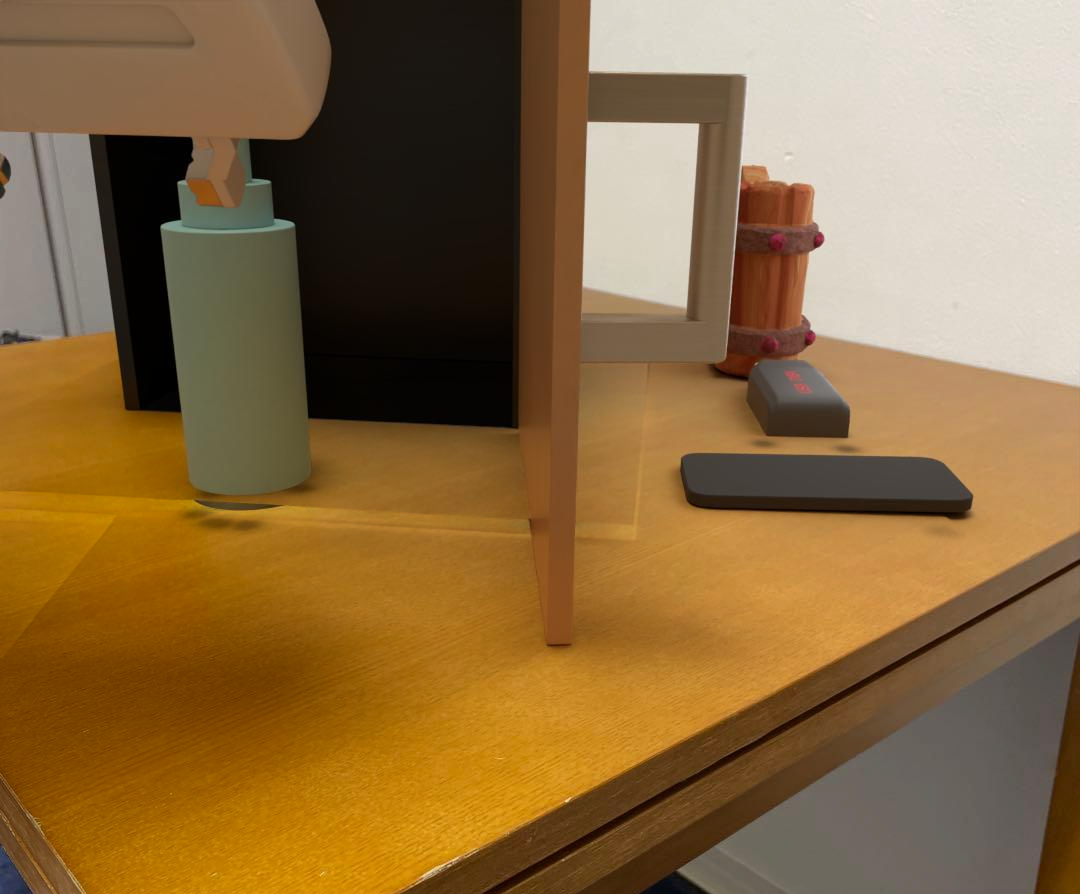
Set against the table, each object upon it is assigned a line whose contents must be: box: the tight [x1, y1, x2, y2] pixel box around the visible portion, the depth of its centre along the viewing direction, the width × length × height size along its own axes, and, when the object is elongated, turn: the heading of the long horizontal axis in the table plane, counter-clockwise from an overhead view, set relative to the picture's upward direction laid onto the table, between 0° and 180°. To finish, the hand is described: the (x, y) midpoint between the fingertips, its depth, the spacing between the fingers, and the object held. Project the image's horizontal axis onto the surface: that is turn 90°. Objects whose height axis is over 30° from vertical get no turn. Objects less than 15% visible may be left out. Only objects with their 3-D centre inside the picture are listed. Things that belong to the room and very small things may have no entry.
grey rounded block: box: [746, 359, 851, 439], centre depth 75 cm, size 5×12×3 cm, turn 179°
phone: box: [679, 452, 974, 513], centre depth 60 cm, size 7×1×15 cm
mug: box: [713, 164, 825, 379], centre depth 86 cm, size 15×8×15 cm, turn 0°
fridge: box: [88, 0, 522, 430], centre depth 71 cm, size 18×26×32 cm
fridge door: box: [517, 0, 750, 645], centre depth 49 cm, size 7×26×32 cm, turn 4°
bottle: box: [161, 138, 313, 512], centre depth 55 cm, size 6×6×20 cm
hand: (106, 189), depth 42 cm, fingers open, 8 cm apart
